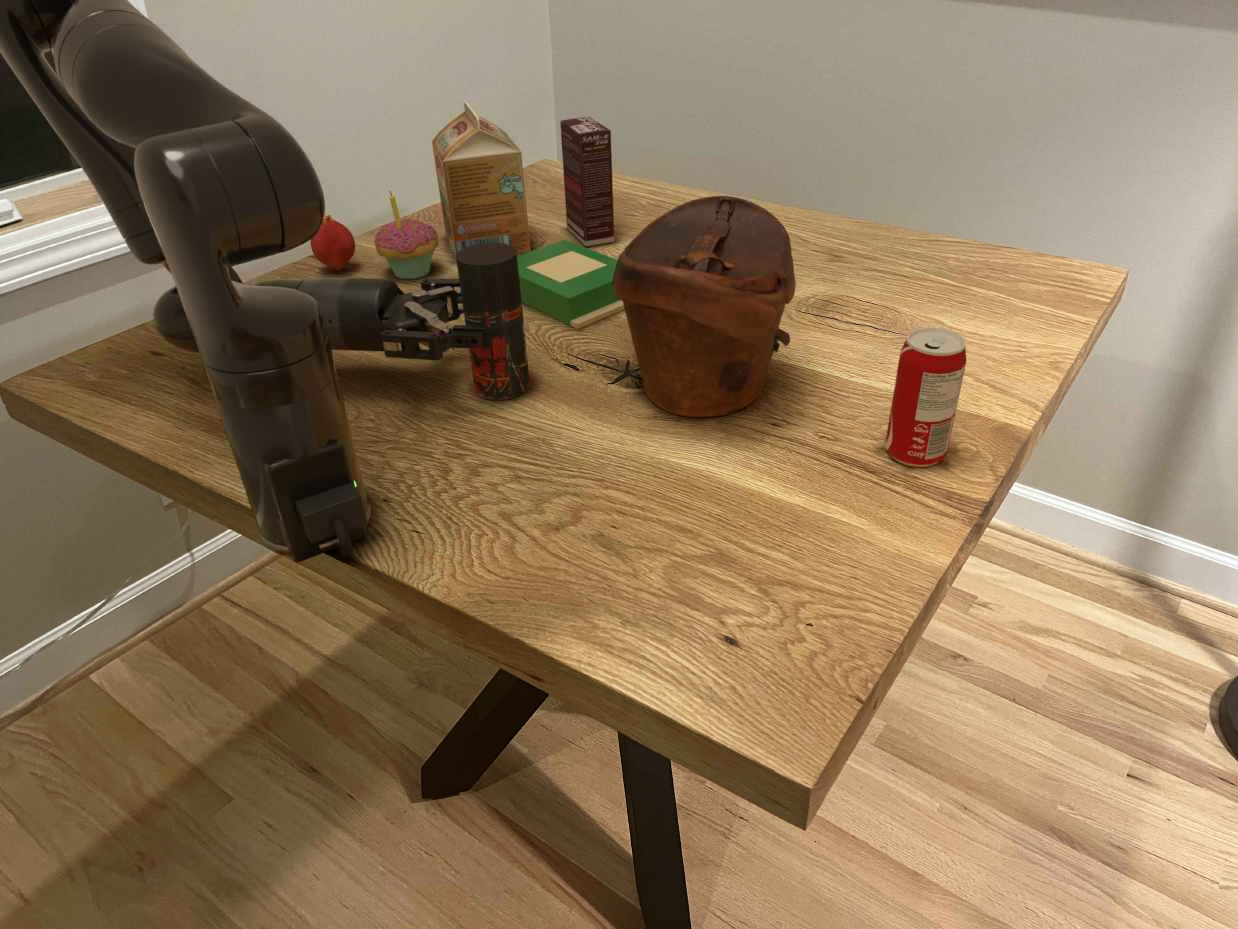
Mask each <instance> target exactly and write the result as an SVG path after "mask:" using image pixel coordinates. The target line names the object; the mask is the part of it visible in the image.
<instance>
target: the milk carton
mask: <svg viewBox="0 0 1238 929" xmlns="http://www.w3.org/2000/svg"><path fill="white" fill-rule="evenodd" d="M463 107H464V111H463V112H462V113H460V114H458V116H456V117H455V118H454V119H452V120H451V121H450V122H448V123H447V124H446V125H445V126H444V127H443V128H442V129H441V130H439V131H438V133H437V134H436V135H435V136H434V138H433V139H432V140H431V144H432V145H431V146H432V151H433V157H434V164H435V171H436V172H435V173H436V178H437V185H438V192H439V199H440V205H441V212H442V218H443V226H444V232H445V238H446V241H447V243H448V245H449V248H450V250H451V253H452V254H453V256H454V259H455V260H456V254H457V253H458V252H459V251H460V250H461V249H463V248H465V247H468V246H471V245H475V244H480V243H492V242H493V243H504V244H508V245H511V246H513V247H514V248H515V249H516V251H517V255H522V254H525V253H528V252H531V251H532V250H531V239H530V230H529V228H530V227H529V220H528V218H529V217H528V208H527V198H526V185H525V175H524V166H523V164H524V163H523V154H522V151H521V149H520V148H519V147H518V146H517V145H516V144H515V142H514V141H513V140H512V139H511V138H510V136H509V135H508V134H507V132H506V131H504V130H503V129H502V128H500V127H499V126H498V125H497V124H495V123H493V122H491V121H490V120H488V119H486V118H484V117H482V116H480V115H478V114H477V113H476V112H475V111H474V109H473V108H472V107H471V105H470V104H469V103H468V102H467V100H464V101H463Z"/></svg>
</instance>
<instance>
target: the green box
mask: <svg viewBox="0 0 1238 929" xmlns="http://www.w3.org/2000/svg"><path fill="white" fill-rule="evenodd" d="M517 261H518V271H519V280H520V290H521V300H522V304H524V305H526V306H528V307H530V308H532V309H534V310H537V311H538V312H541V313H544V314H545V315H547V316H549V317H551V318H553V319H556V320H557V321H560V322H562V323H564V324H566V325H569V326H571V327H572V328H574V329H577V330H580V329H581V328H585V327H586V326H589V325H591V324H593V323H595V322H598V321H600V320H603V319H605V318H607V317H610V316H613V315H615V314H617V313H619V312H622V311H625V309H624V304H623V301H621V300H619V299H618V298H617V297H616V295H615V294H614V289H613V287H612V280H613V275H614V272H615V267H616V264H617V261H618V259H617V258H613V257H612V256H609V255H606V254H604V253H601V252H598V251H595V250H593V249H590V248H587V247H586V246H584V245H580V244H577V243H575V242H572V241H570V240H568V239H562V240H560V241H557V242H554V243H551V244H548V245H545V246H543V247H539V248H537V249H534V250H531V252H528V253H523V254H518V255H517Z"/></svg>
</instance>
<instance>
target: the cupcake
mask: <svg viewBox="0 0 1238 929" xmlns="http://www.w3.org/2000/svg"><path fill="white" fill-rule="evenodd" d="M388 193H389V196H388V197H389V201H390V205H391V209H392V213H393V216H394V221H393V222H391V223H390V222H389V223H387V224H385V225H384V226H383V227H382V228H380V229H379V231H377V232H376V235H375V236H374V242H373V243H374V245H375V246H374V247H375V250H376V253H377V254H378V255H379V256H381V257H383V258H384V259H385V260H386V262H387V263H388V265H389V266H390V268H391V270H392V272H393V274H394V276H395V277H396V278H397V279H401V280H415V279H419V278H422V277H425V276H426V275H428V274H429V272H430V270H431V264H432V259H433V254H434V253H435V251H436V248H437V247H439V245H440V241H439V235H438V234H437V231H436V229H435V228H434V227H433V226H432V225H431V224H427V223H425V222H423V221H421V220H418V219H417V220H416V219H412V218H404V219H401V217H400V212H399V208H398V205H397V202H396V198H395V195H394V194H393V193H392V191H391V190H389V191H388Z"/></svg>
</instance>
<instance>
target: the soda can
mask: <svg viewBox="0 0 1238 929" xmlns="http://www.w3.org/2000/svg"><path fill="white" fill-rule="evenodd" d="M966 348H967V343H966V339H965V338H964V337H963V336H962V335H961V334H959V333H958V332H956V331H953V330H952V329H947V328H944V327H938V326H937V327H935V326H926V327H920V328H915V329H913V330H911V331H910V332H908V333H907V334H906V338H905V340H904V343H903V345H902V347H901V349H900V352H899V358H898V363H897V370H896V376H895V382H894V387H893V394H892V400H891V406H890V412H889V419H888V425H887V431H886V437H885V443H884V446H885V450H886V451H887V453H888V454H889V455H890V456H891V458H892V459H893V460H894V461H896V462H898V463H900V464H902V465H905V466H909V467H914V468H925V467H926V468H928V467H931V466H933V465H937V464H938V463H939V462H941V461H943V460H944V458H946V456H947V455H948V450H949V446H950V442H951V437H952V432H953V426H954V422H955V417H956V412H957V409H958V408H957V407H958V402H959V399H960V394H961V388H962V384H963V380H964V375H965V370H966V365H967V350H966Z"/></svg>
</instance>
